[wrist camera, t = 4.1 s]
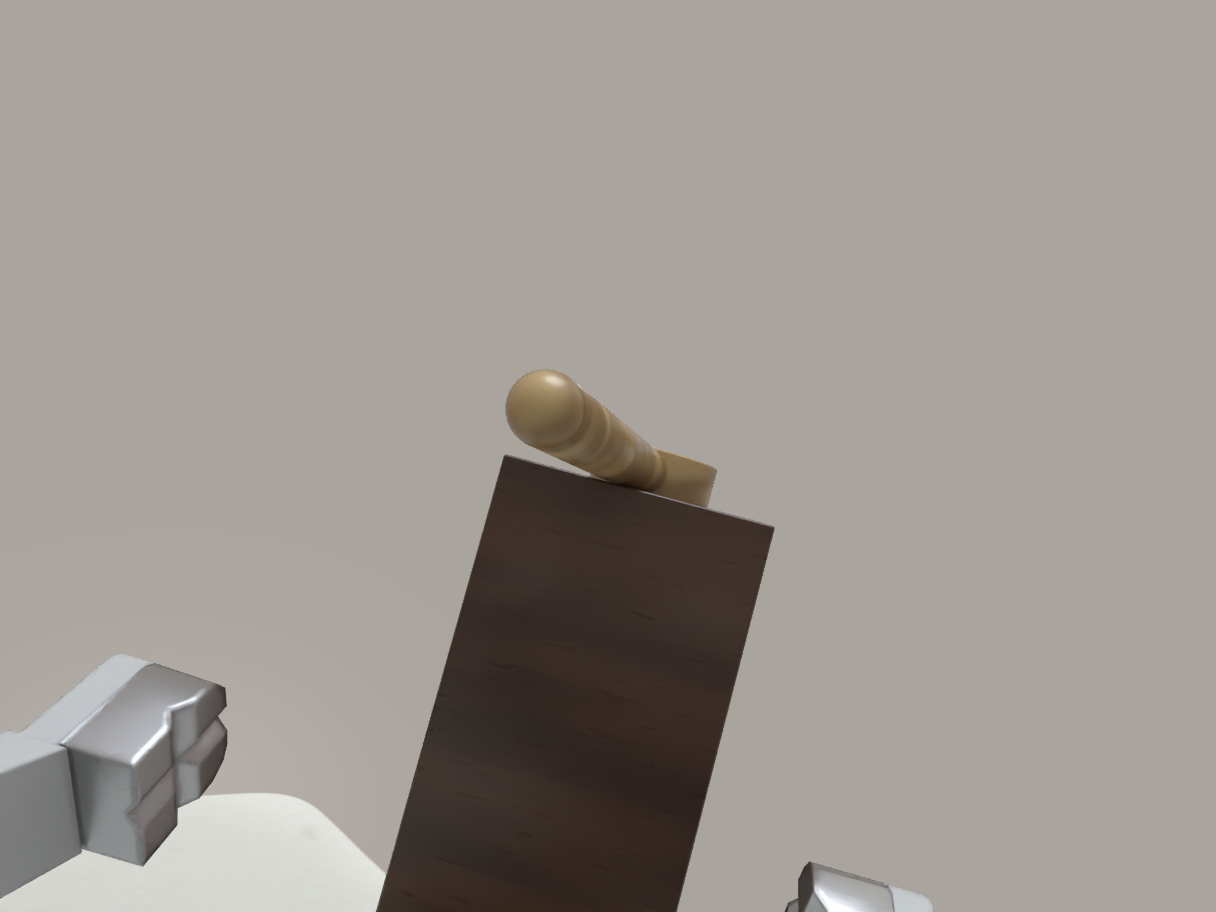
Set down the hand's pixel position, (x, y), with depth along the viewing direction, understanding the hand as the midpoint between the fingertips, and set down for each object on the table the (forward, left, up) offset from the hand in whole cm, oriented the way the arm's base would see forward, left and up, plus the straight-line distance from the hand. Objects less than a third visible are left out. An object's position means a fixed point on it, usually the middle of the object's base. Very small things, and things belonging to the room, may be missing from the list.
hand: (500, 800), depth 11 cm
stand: (+16, -11, -21) cm, 28 cm away
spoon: (+13, -8, +5) cm, 16 cm away
